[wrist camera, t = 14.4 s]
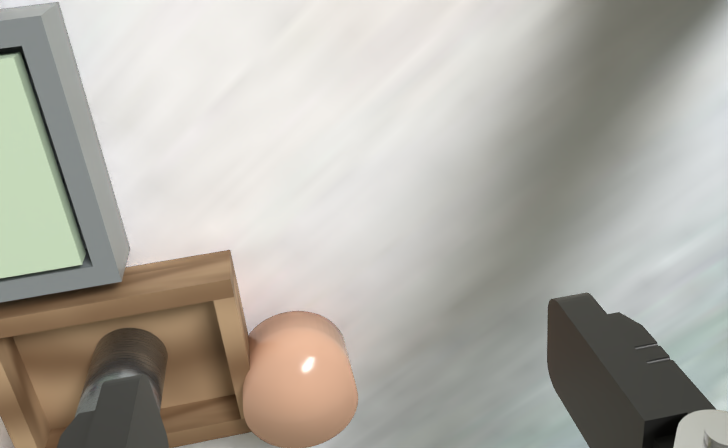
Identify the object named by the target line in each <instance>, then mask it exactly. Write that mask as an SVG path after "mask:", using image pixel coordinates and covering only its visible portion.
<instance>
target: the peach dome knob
mask: <svg viewBox="0 0 728 448" xmlns="http://www.w3.org/2000/svg"><path fill="white" fill-rule="evenodd" d="M248 338H249V357H250V370H249V372H248V374H247V375H246V378H245V380H244V384H243V413H244V418H245V421H246V423H247V425H248V427H249V428H250V430H251V431H252V432H253V433H254V434H255V435H256V436H257V437H258V438H260V439H261V440H263V441H265V442H267V443H269V444H271V445H274V446H278V447H283V448H306V447H311V446H315V445H318V444H321V443H323V442H325V441H328V440H330V439H331V438H333V437H335V436H336V435H337V434H339V433H340V432H341V431H342V430H343V429H344V428H345V427H346V426H347V425H348V424H349V422H350V421H351V419H352V418H353V416H354V414H355V412H356V408H357V404H358V393H357V388H356V384H355V380H354V376H353V372H352V369H351V365H350V361H349V357H348V353H347V349H346V345H345V341H344V338H343V336H342V334H341V332H340V330H339V329H338V328H337V327H336V326H335V325H334V324H333V323H332V322H331V321H329V320H328V319H326V318H325V317H323V316H321V315H318V314H315V313H311V312H304V311H292V312H285V313H281V314H278V315H275V316H272V317H270V318H268V319H266V320H265V321H263V322H262V323H260V324H259V325H258V326H256V327H255V328H254V329H253V330H252V332H251V333H250V334H249V336H248Z"/></svg>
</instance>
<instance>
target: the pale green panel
mask: <svg viewBox="0 0 728 448" xmlns="http://www.w3.org/2000/svg"><path fill="white" fill-rule="evenodd" d="M85 255H86V252H85V249H84V246H83V243H82V240H81V237H80V234H79V230H78V227H77V224H76V221H75V218H74V215H73V212H72V209H71V206H70V203H69V200H68V197H67V194H66V190H65V187H64V184H63V181H62V178H61V175H60V172H59V169H58V166H57V163H56V160H55V157H54V154H53V150H52V147H51V144H50V141H49V138H48V135H47V132H46V129H45V126H44V123H43V120H42V117H41V114H40V110H39V107H38V104H37V101H36V98H35V95H34V92H33V89H32V86H31V83H30V80H29V77H28V74H27V70H26V67H25V64H24V61H23V58H22V55H21V52H13V53H6V54H0V278H6V277H12V276H18V275H24V274H30V273H36V272H42V271H47V270H53V269H59V268H65V267H71V266H77V265H82V264H83V261H84V258H85Z"/></svg>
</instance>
